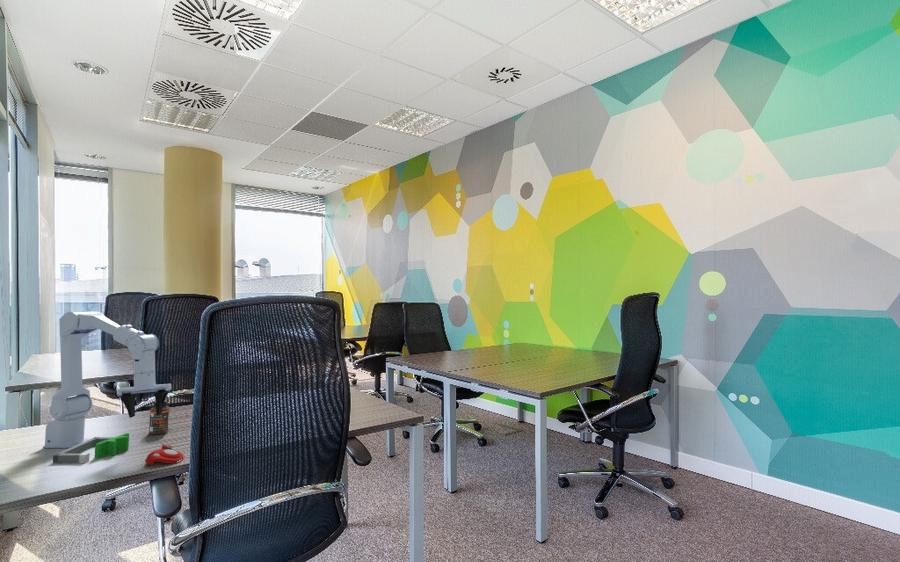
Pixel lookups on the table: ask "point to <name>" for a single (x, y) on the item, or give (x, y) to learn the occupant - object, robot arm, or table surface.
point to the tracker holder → (164, 455)
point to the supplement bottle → (159, 419)
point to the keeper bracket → (78, 452)
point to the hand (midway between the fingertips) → (145, 415)
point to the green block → (112, 446)
